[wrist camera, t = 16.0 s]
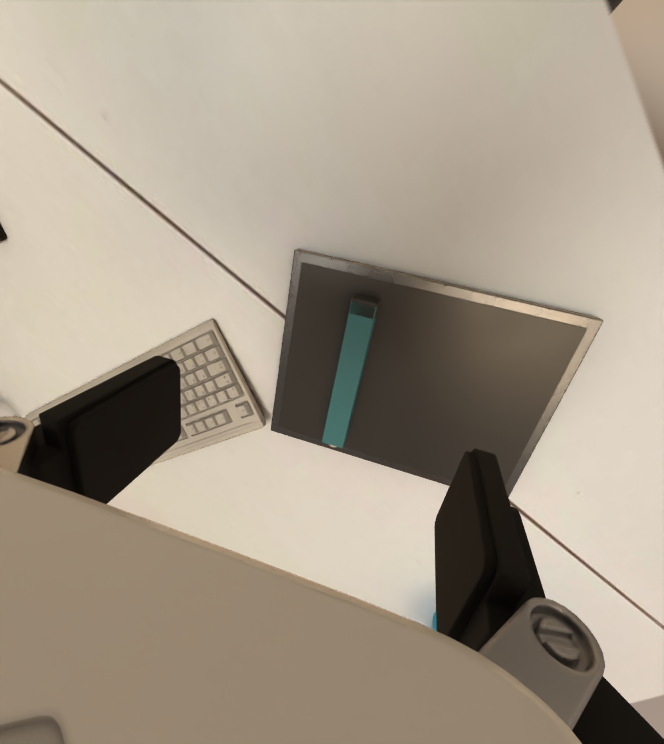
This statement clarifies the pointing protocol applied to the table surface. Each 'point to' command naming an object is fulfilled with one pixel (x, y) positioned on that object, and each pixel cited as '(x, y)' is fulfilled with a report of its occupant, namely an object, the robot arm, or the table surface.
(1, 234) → the handheld gaming console
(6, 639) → the robot arm
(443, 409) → the tablet
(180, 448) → the keyboard
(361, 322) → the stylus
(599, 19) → the table surface
